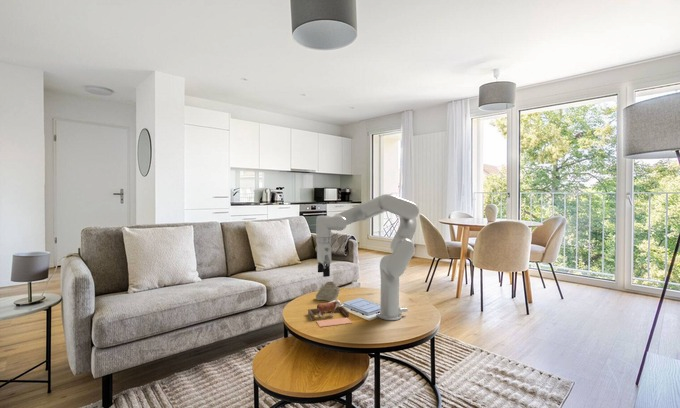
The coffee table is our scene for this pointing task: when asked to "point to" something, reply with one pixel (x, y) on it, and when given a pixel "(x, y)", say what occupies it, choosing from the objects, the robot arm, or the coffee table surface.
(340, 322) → the mat
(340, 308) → the stall
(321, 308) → the bull figurine
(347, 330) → the coffee table surface
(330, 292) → the fossil tooth
